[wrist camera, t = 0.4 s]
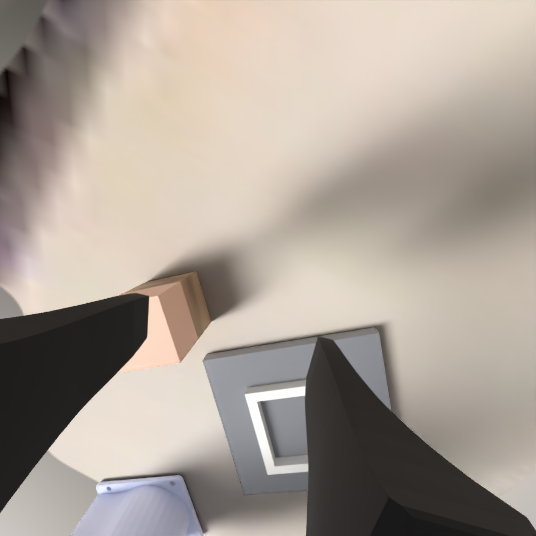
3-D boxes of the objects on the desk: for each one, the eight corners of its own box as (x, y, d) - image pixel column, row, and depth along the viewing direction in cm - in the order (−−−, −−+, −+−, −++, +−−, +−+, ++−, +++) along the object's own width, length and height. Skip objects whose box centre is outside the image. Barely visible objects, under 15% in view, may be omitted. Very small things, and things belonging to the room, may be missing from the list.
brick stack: (163, 330, 22) (116, 372, 17) (147, 281, 22) (91, 308, 16) (211, 321, 22) (180, 362, 16) (196, 271, 21) (157, 295, 15)
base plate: (246, 484, 25) (242, 504, 23) (206, 354, 22) (199, 366, 21) (398, 471, 23) (407, 493, 21) (375, 327, 20) (382, 338, 19)
